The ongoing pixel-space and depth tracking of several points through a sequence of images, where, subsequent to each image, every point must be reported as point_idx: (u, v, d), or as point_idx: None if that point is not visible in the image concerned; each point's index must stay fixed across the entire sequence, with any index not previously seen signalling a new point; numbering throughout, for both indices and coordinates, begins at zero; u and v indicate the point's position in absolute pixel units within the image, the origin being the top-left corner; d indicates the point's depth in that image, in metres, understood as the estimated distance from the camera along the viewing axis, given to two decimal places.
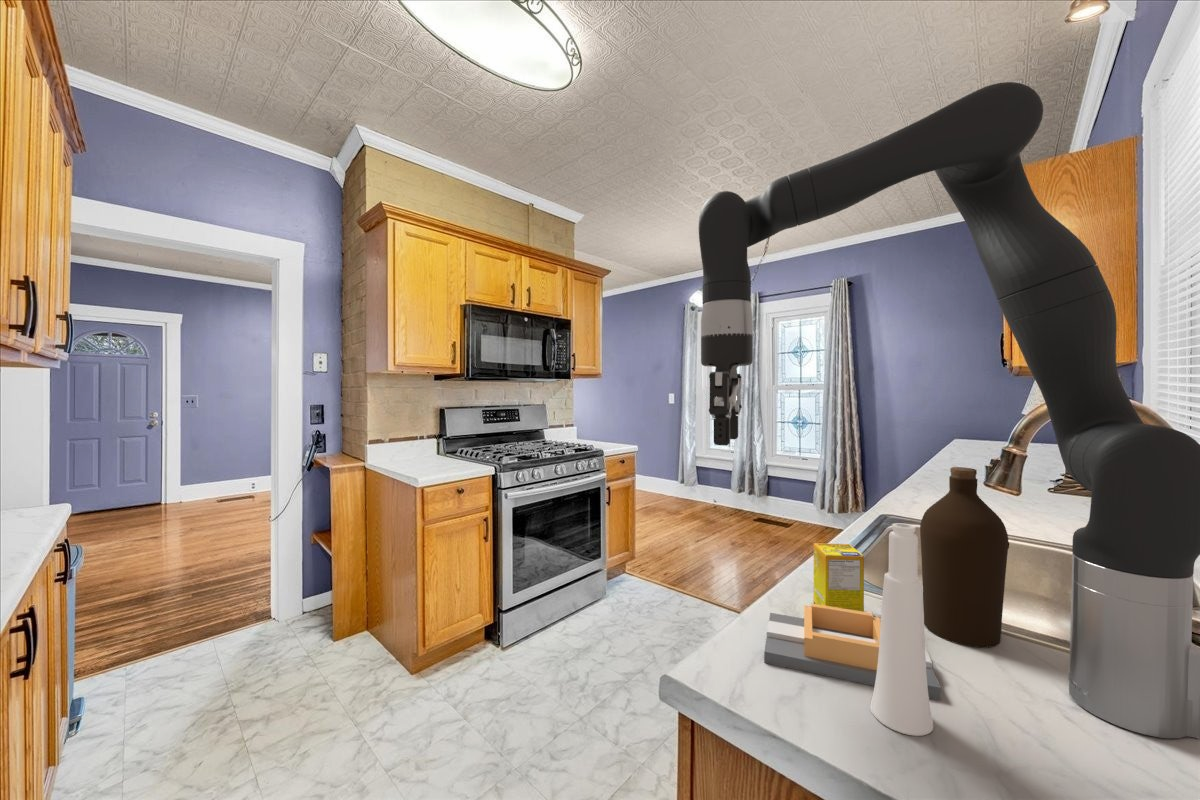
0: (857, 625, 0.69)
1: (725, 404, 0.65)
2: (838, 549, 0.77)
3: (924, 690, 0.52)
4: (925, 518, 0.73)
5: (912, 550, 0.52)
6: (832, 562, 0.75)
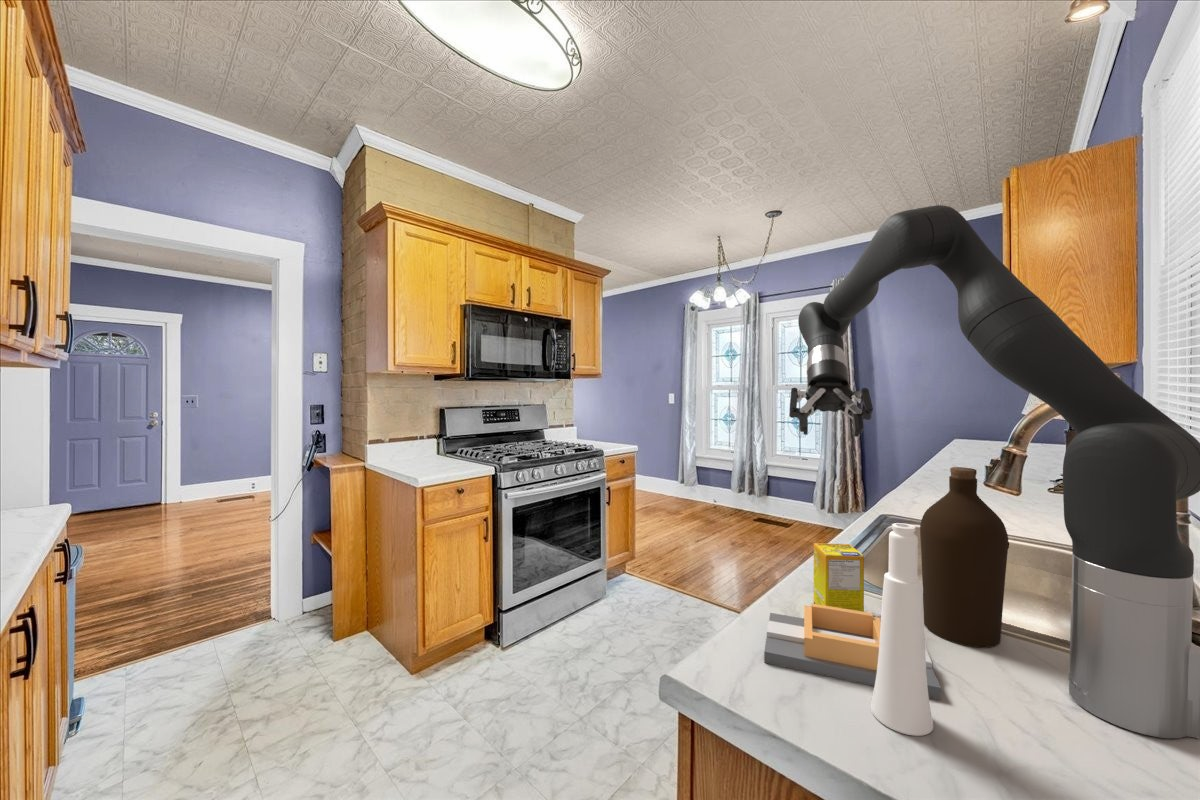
0: (857, 625, 0.69)
1: None
2: (838, 549, 0.77)
3: (924, 690, 0.52)
4: (925, 518, 0.73)
5: (912, 550, 0.52)
6: (832, 562, 0.75)
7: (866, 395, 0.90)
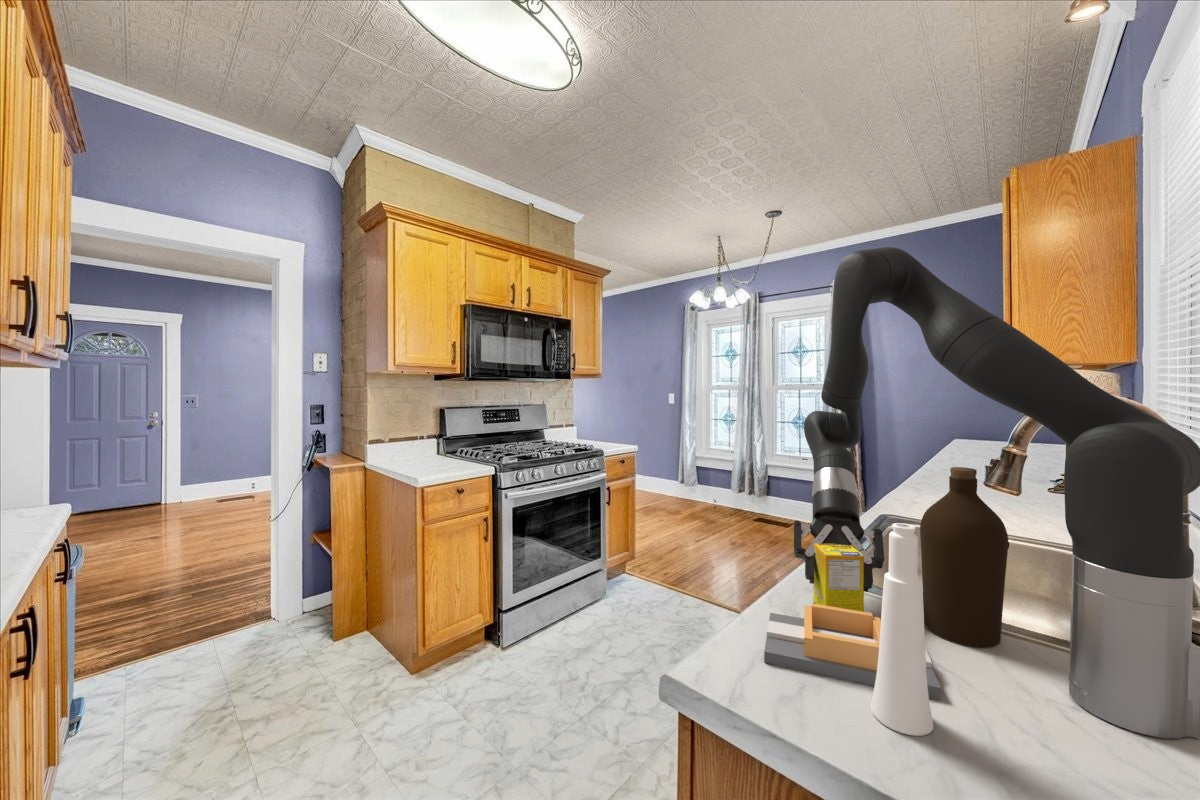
0: (857, 625, 0.69)
1: (794, 544, 0.82)
2: (838, 549, 0.77)
3: (924, 690, 0.52)
4: (925, 518, 0.73)
5: (912, 550, 0.52)
6: (832, 562, 0.75)
7: (879, 539, 0.79)
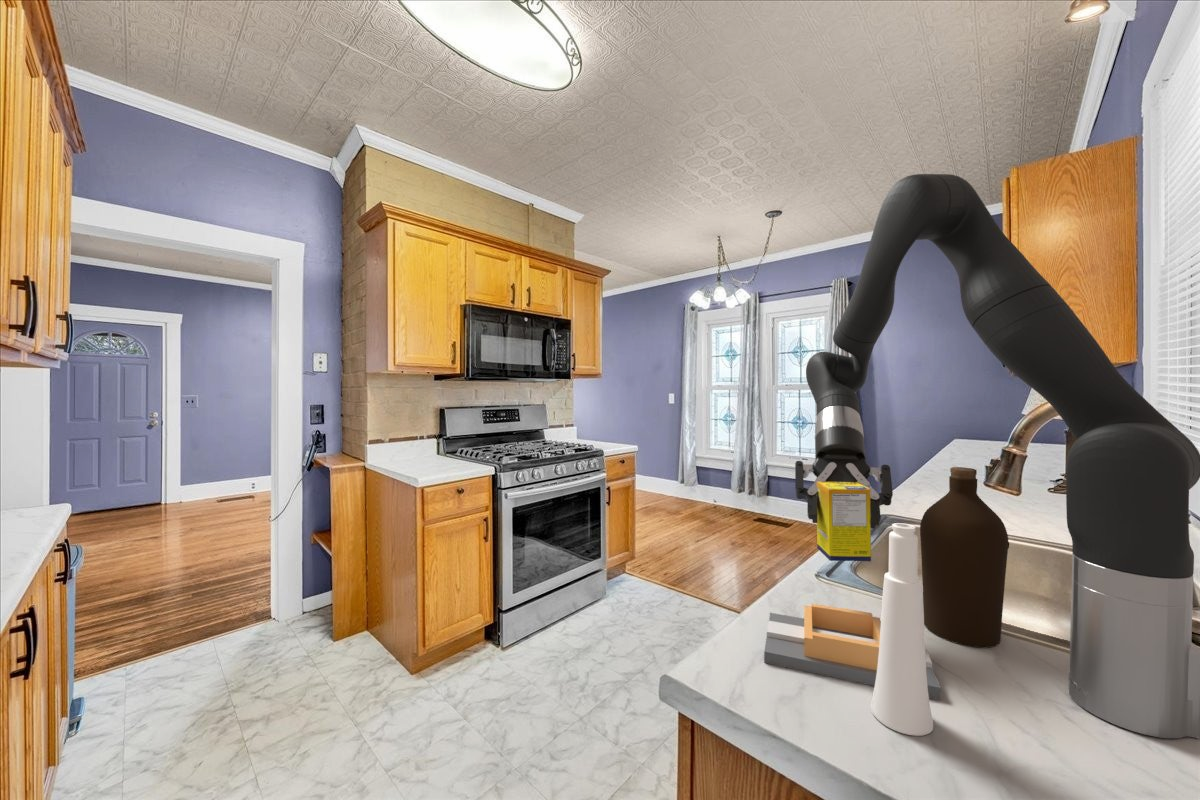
0: (857, 625, 0.69)
1: None
2: (842, 485, 0.72)
3: (924, 690, 0.52)
4: (925, 518, 0.73)
5: (912, 550, 0.52)
6: (835, 497, 0.70)
7: (886, 474, 0.73)
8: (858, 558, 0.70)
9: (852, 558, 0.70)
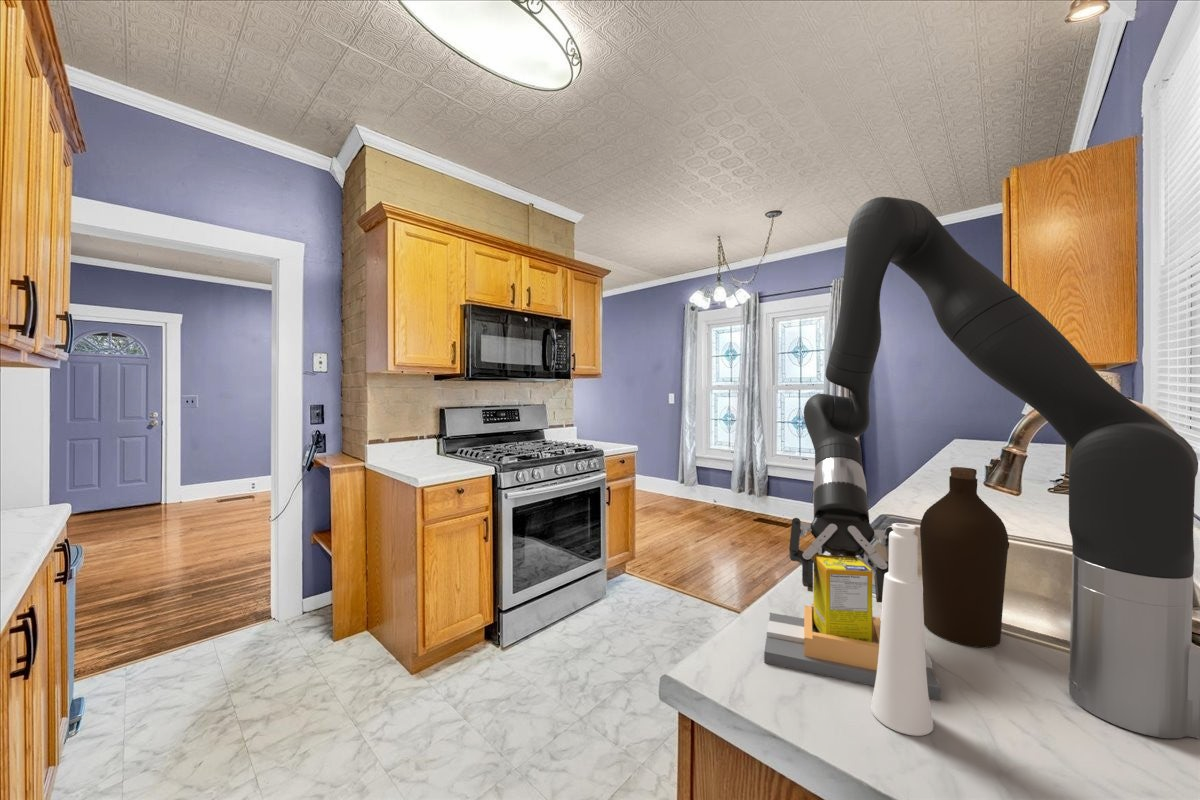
0: None
1: None
2: (842, 562, 0.66)
3: (924, 690, 0.52)
4: (925, 518, 0.73)
5: (912, 550, 0.52)
6: (834, 578, 0.64)
7: None
8: None
9: None
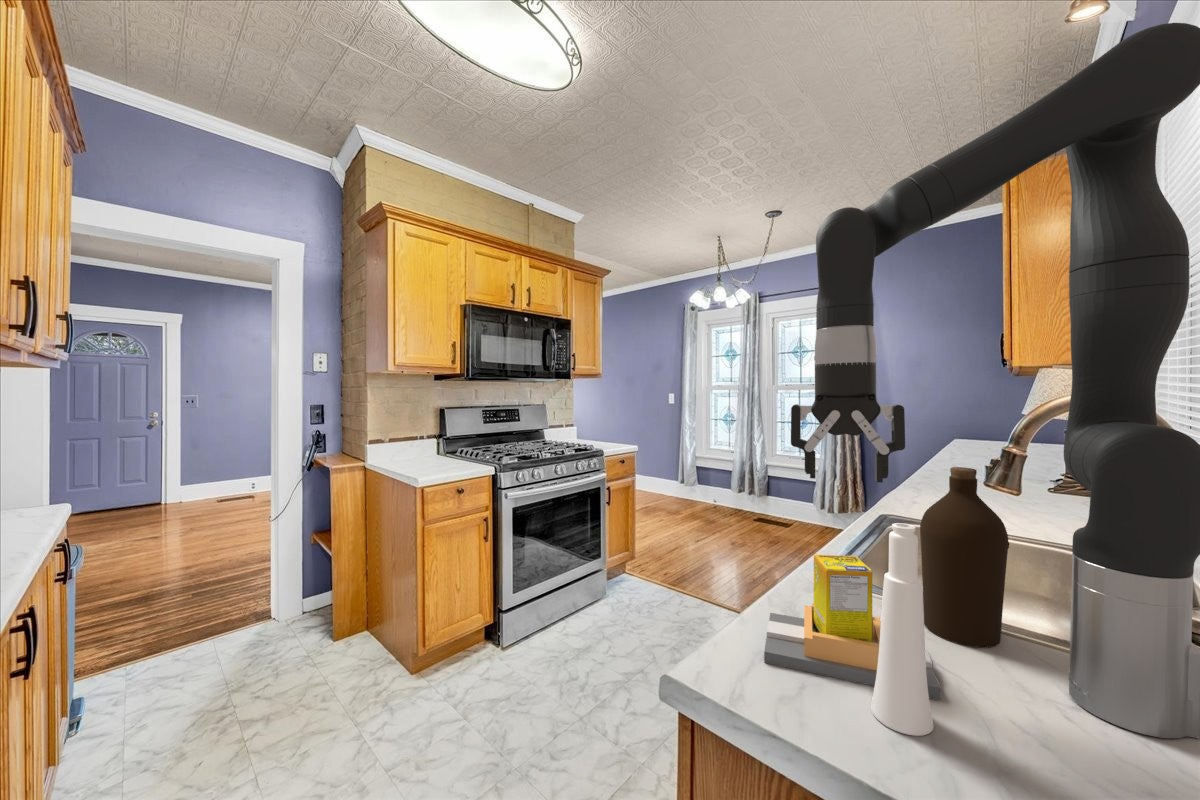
0: None
1: (791, 436, 0.68)
2: (842, 563, 0.66)
3: (924, 690, 0.52)
4: (925, 518, 0.73)
5: (912, 550, 0.52)
6: (834, 578, 0.64)
7: (899, 420, 0.62)
8: None
9: None
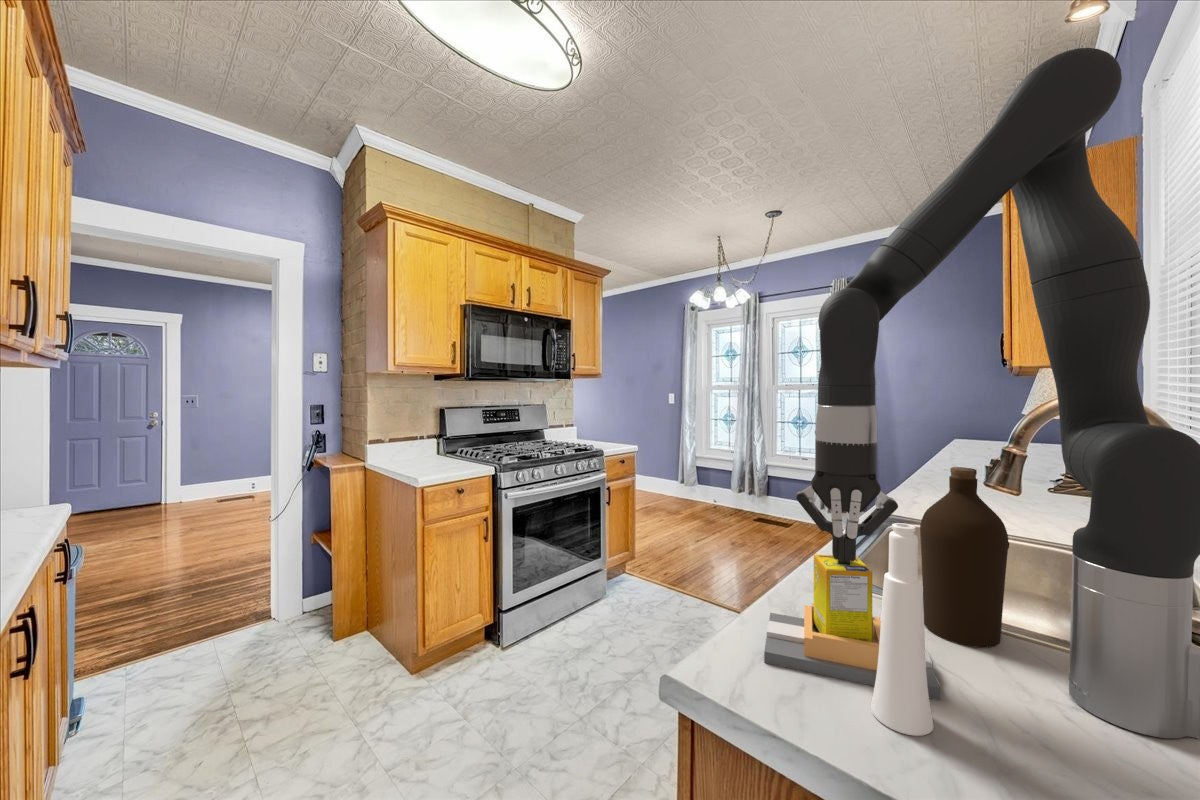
0: None
1: (816, 523, 0.66)
2: None
3: (924, 690, 0.52)
4: (925, 518, 0.73)
5: (912, 550, 0.52)
6: (834, 578, 0.64)
7: (885, 513, 0.63)
8: None
9: None
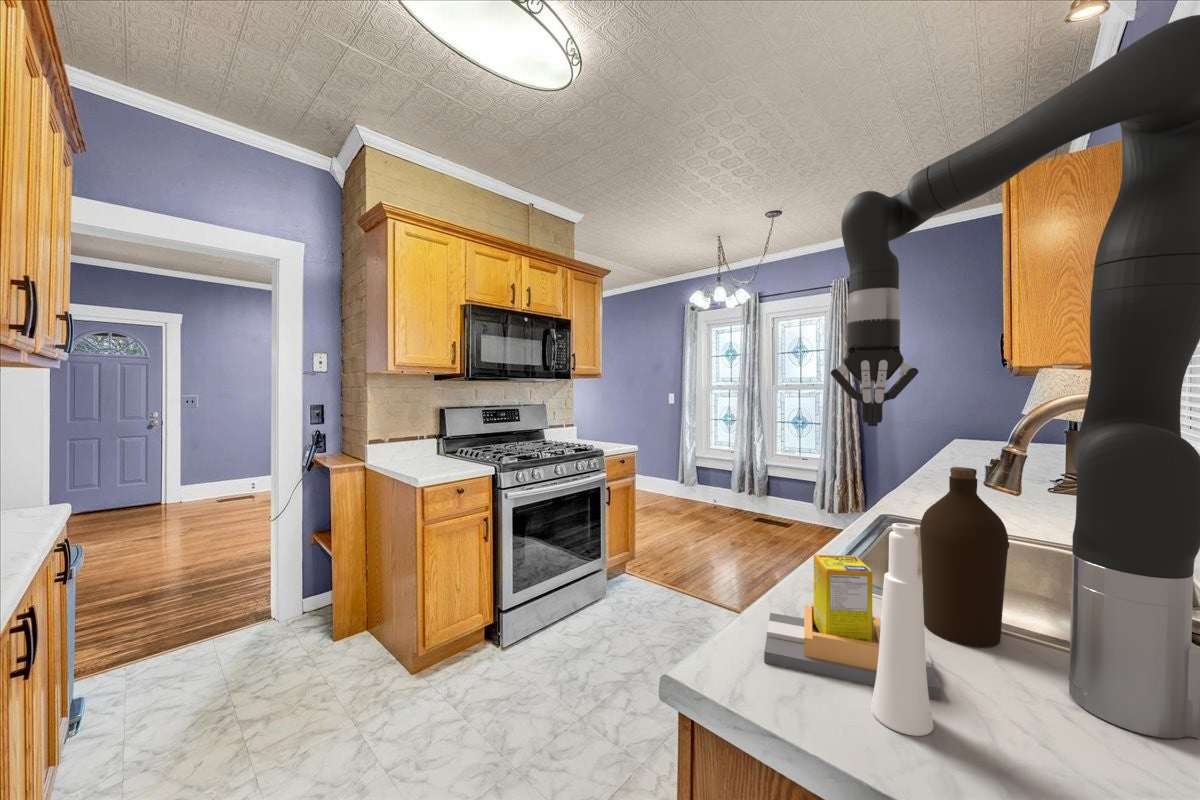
0: None
1: (848, 393, 0.78)
2: (842, 563, 0.66)
3: (924, 690, 0.52)
4: (925, 518, 0.73)
5: (912, 550, 0.52)
6: (834, 578, 0.64)
7: (907, 378, 0.75)
8: None
9: None
